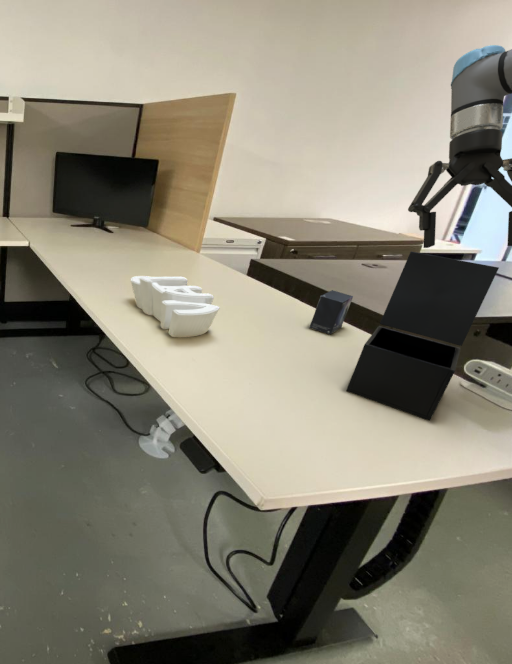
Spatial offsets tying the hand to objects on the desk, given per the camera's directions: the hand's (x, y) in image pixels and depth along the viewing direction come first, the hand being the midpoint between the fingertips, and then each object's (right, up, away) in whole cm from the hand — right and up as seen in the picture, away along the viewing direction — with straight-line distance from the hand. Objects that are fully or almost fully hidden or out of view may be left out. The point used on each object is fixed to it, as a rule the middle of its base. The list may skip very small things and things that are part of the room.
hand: (470, 245), depth 90 cm
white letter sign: (-46, -12, +48) cm, 68 cm away
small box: (+2, -15, +51) cm, 53 cm away
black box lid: (+5, -9, +15) cm, 18 cm away
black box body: (-3, -30, +16) cm, 34 cm away
